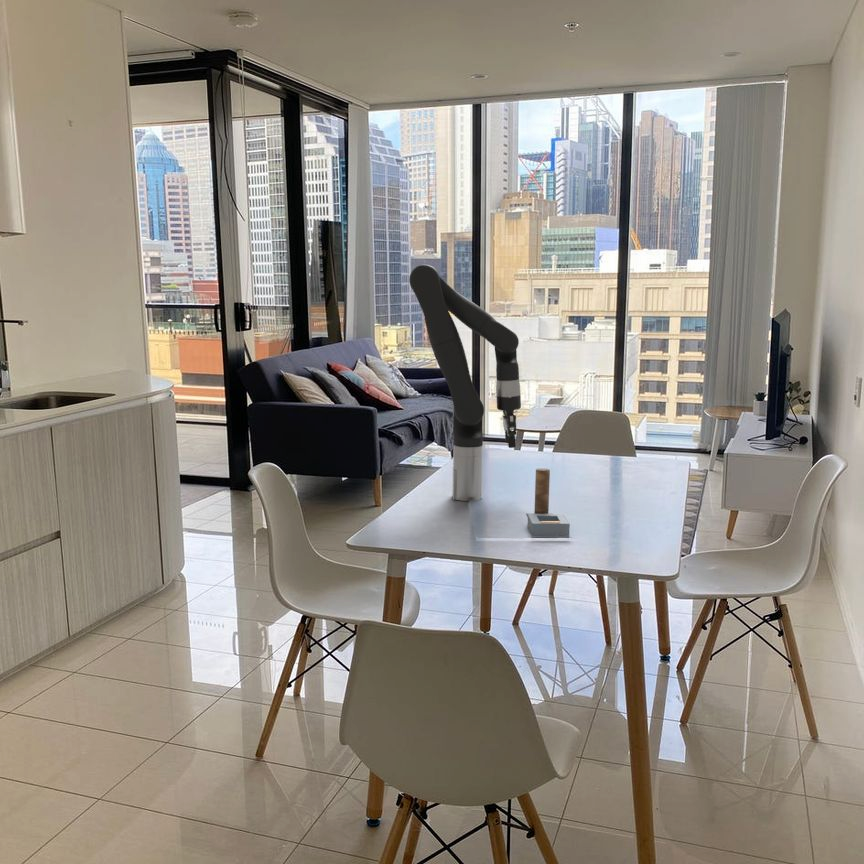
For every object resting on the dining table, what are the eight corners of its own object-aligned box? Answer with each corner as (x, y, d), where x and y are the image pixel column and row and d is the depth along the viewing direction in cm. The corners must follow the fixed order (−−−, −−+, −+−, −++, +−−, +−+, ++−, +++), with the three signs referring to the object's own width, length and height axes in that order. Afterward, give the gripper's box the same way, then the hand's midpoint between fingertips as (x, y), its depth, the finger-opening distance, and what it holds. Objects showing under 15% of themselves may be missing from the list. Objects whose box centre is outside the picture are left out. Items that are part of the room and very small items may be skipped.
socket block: (531, 537, 231) (532, 522, 230) (527, 527, 241) (527, 512, 240) (569, 538, 231) (569, 522, 230) (563, 527, 241) (563, 513, 240)
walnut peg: (535, 519, 247) (536, 471, 244) (533, 515, 251) (534, 468, 248) (549, 519, 247) (550, 471, 244) (547, 515, 251) (548, 468, 248)
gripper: (494, 392, 276) (496, 441, 278) (498, 397, 262) (500, 450, 264) (517, 390, 276) (519, 440, 279) (523, 396, 262) (525, 448, 265)
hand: (510, 445), depth 271 cm, fingers open, 8 cm apart
